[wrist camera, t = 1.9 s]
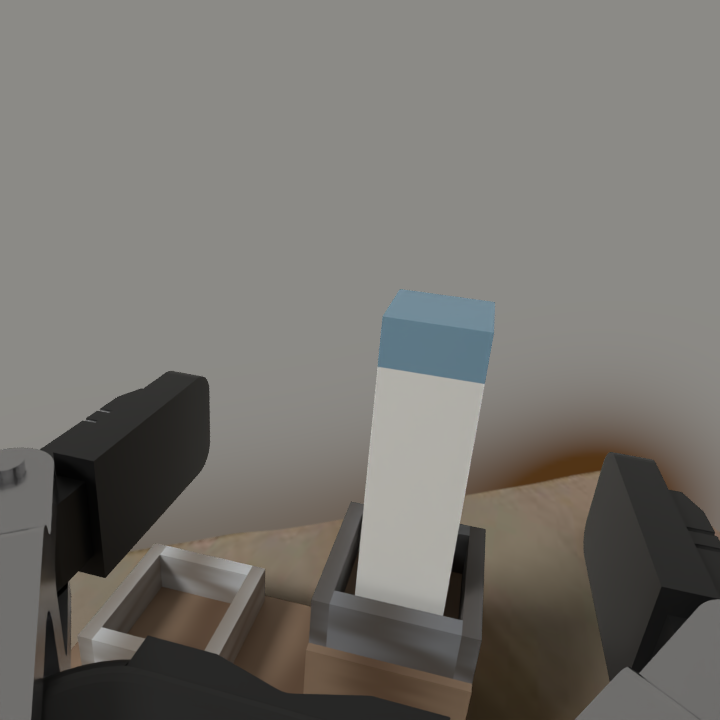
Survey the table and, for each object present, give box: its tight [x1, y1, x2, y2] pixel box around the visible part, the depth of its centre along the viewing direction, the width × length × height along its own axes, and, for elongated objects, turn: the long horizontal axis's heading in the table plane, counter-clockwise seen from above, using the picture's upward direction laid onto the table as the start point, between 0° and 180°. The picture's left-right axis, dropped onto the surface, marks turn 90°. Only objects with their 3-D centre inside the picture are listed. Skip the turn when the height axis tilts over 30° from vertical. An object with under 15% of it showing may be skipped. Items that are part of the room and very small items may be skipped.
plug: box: [355, 289, 495, 616], centre depth 25 cm, size 4×4×15 cm
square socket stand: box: [71, 502, 486, 720], centre depth 30 cm, size 21×8×10 cm, turn 77°
